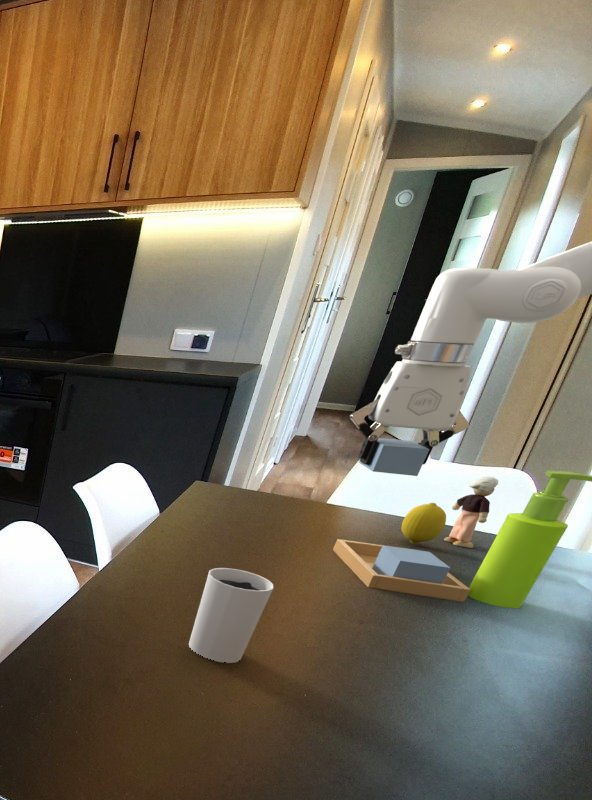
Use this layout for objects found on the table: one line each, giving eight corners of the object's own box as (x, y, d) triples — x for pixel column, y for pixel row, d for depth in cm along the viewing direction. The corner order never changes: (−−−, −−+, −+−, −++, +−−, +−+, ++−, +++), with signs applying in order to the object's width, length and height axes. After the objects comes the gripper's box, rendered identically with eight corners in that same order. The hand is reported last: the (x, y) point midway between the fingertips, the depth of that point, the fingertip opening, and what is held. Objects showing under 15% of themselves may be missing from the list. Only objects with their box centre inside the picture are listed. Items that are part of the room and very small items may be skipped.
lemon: (401, 546, 116) (421, 505, 113) (389, 536, 121) (407, 496, 117) (439, 551, 114) (460, 509, 111) (425, 541, 119) (445, 500, 115)
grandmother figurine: (486, 550, 115) (522, 483, 110) (465, 549, 115) (500, 482, 110) (447, 535, 122) (479, 471, 117) (427, 534, 122) (458, 470, 117)
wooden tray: (413, 563, 108) (420, 550, 107) (462, 604, 94) (470, 589, 93) (331, 552, 112) (337, 538, 111) (366, 589, 98) (373, 575, 97)
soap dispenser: (535, 616, 91) (616, 481, 83) (471, 603, 94) (542, 473, 86) (521, 601, 96) (596, 472, 87) (459, 589, 99) (526, 464, 90)
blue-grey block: (416, 577, 102) (429, 551, 100) (436, 594, 96) (450, 567, 94) (370, 570, 104) (382, 545, 102) (387, 587, 98) (400, 560, 96)
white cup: (193, 632, 84) (216, 563, 80) (251, 651, 80) (279, 580, 76) (177, 649, 80) (201, 577, 76) (237, 671, 76) (266, 596, 71)
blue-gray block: (400, 466, 111) (412, 441, 109) (417, 476, 105) (429, 449, 103) (358, 462, 113) (368, 437, 111) (372, 471, 107) (383, 445, 105)
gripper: (377, 353, 101) (333, 464, 108) (521, 360, 95) (463, 477, 102) (361, 349, 107) (321, 455, 115) (495, 356, 101) (443, 466, 109)
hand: (388, 464), depth 108 cm, fingers closed on blue-gray block, 6 cm apart
